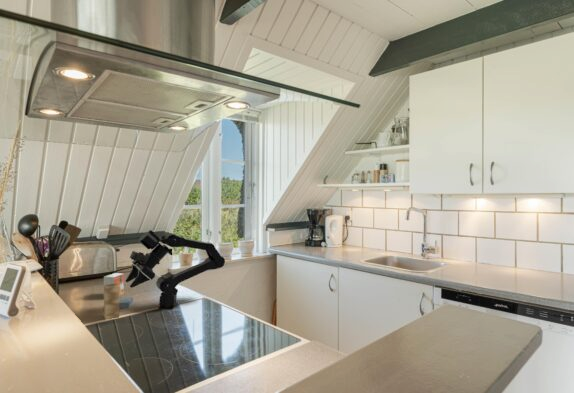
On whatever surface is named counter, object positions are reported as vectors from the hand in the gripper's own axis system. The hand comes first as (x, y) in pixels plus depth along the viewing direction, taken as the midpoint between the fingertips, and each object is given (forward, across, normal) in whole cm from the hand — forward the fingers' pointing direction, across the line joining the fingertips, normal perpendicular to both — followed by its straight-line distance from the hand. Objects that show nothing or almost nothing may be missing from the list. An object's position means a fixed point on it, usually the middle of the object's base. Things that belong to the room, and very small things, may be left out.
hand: (128, 284), depth 147 cm
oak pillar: (+13, 0, +4) cm, 14 cm away
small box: (+10, -28, +8) cm, 31 cm away
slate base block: (+9, -12, +9) cm, 18 cm away
